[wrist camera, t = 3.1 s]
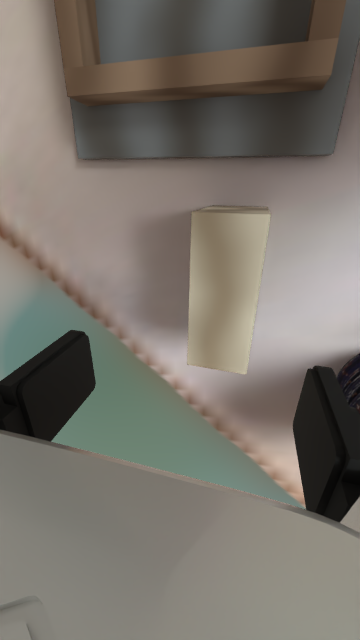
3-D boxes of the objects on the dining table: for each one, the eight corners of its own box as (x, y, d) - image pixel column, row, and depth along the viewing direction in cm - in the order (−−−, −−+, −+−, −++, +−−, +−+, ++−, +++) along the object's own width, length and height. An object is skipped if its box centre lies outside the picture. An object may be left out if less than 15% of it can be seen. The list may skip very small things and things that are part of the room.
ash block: (267, 206, 21) (271, 214, 14) (250, 326, 26) (246, 374, 19) (212, 205, 22) (191, 211, 16) (205, 320, 27) (187, 364, 20)
